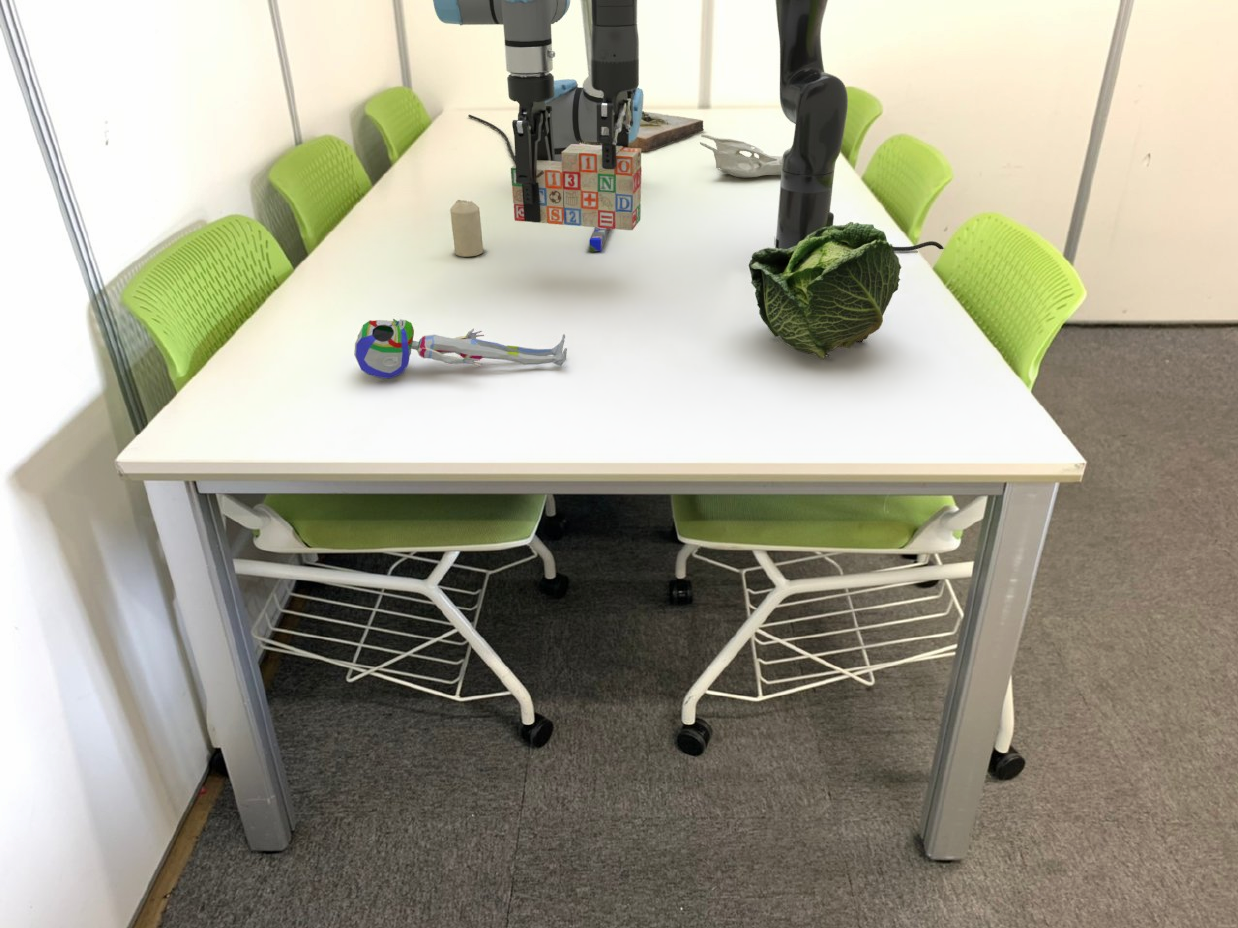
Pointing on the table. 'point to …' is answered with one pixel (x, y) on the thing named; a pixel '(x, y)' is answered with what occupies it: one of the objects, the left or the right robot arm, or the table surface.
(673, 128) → the plaque
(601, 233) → the blue-tipped grey rod
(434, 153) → the table surface
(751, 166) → the anatomical model
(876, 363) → the table surface
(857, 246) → the vegetable
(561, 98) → the left robot arm
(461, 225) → the candle
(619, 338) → the table surface
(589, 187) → the stack of blocks
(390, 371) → the toy
